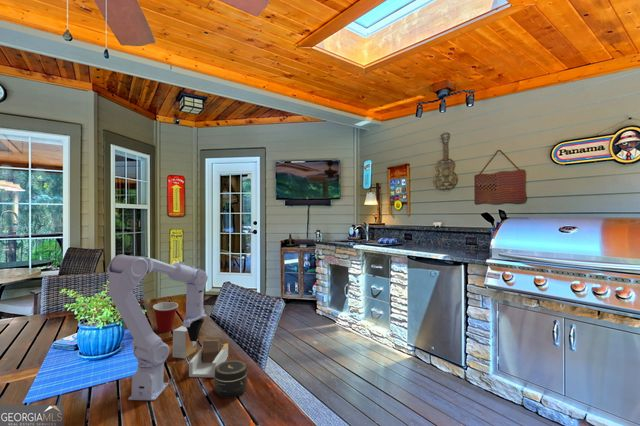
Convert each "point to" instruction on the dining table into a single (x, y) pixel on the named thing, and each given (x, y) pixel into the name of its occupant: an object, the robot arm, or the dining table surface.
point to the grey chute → (206, 363)
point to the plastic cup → (165, 315)
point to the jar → (230, 378)
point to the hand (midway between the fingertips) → (193, 340)
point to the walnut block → (211, 348)
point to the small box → (182, 343)
